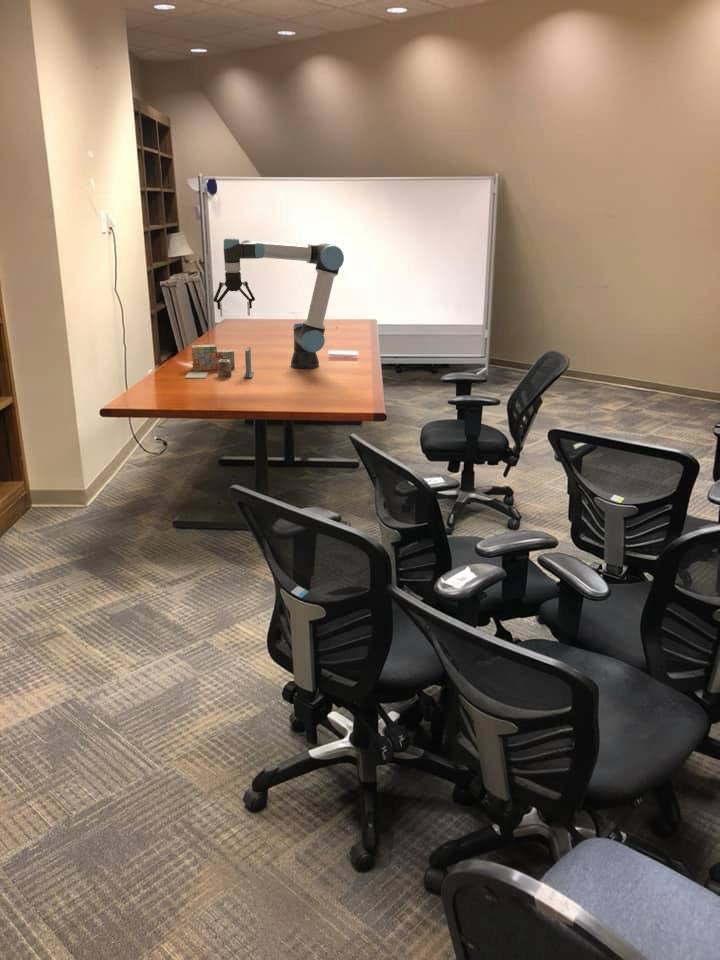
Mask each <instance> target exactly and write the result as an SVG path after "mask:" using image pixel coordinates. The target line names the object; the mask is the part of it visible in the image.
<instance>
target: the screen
mask: <svg viewBox="0 0 720 960" xmlns="http://www.w3.org/2000/svg"><path fill="white" fill-rule="evenodd" d="M244 351H245V352H244V353H245V373H244V376H243V379H244V380H253V376H254V374H255V373H254V371H252V356H251V355H252V353H251V351H252V350H251V346H249V345H248V346H246V348H245V349H244Z"/></svg>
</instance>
